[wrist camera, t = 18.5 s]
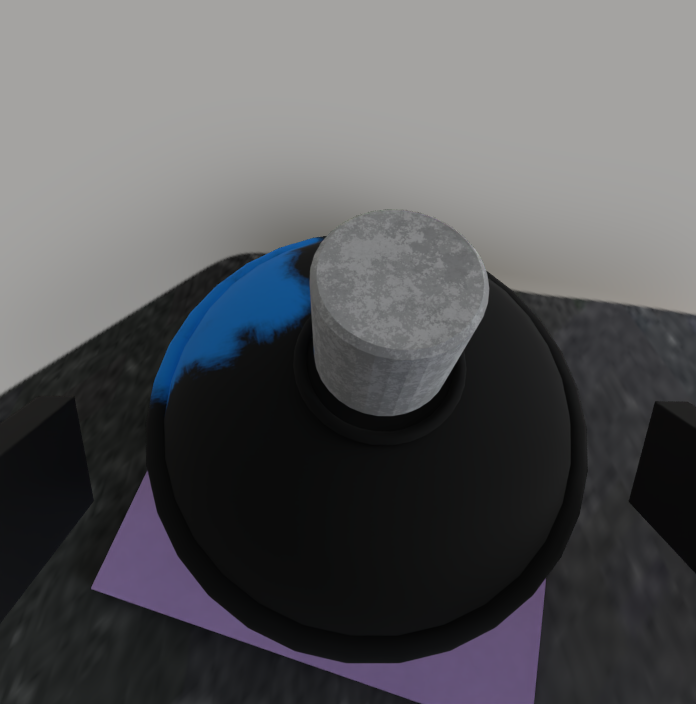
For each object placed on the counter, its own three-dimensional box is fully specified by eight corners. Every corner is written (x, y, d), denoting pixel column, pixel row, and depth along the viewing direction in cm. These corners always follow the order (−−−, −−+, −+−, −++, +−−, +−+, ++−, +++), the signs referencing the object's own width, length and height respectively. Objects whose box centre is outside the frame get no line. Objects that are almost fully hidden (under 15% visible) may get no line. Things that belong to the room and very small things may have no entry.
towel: (554, 447, 25) (559, 444, 25) (525, 737, 20) (530, 741, 19) (210, 347, 27) (208, 343, 27) (95, 588, 22) (90, 589, 21)
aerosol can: (453, 478, 24) (833, 174, 6) (381, 645, 21) (740, 1097, 3) (313, 403, 25) (277, -23, 7) (225, 548, 22) (-226, 418, 4)
